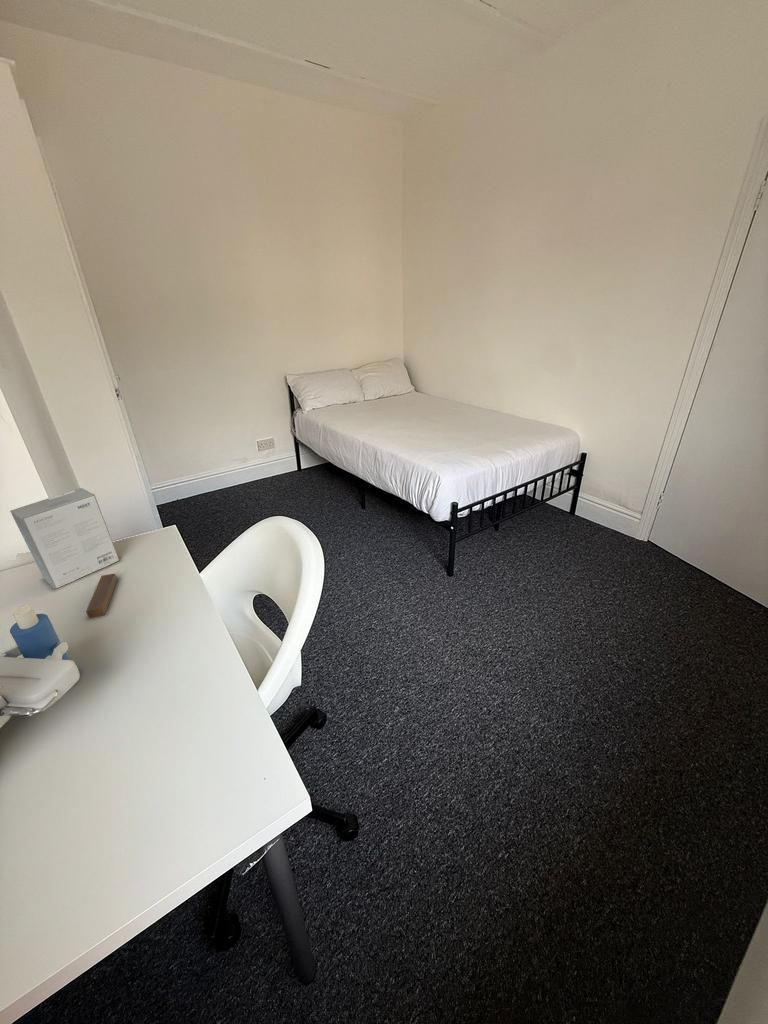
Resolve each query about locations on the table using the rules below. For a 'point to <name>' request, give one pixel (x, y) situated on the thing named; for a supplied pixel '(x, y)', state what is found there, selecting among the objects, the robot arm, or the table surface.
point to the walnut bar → (101, 596)
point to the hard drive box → (66, 536)
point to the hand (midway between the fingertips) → (46, 643)
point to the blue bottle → (33, 633)
